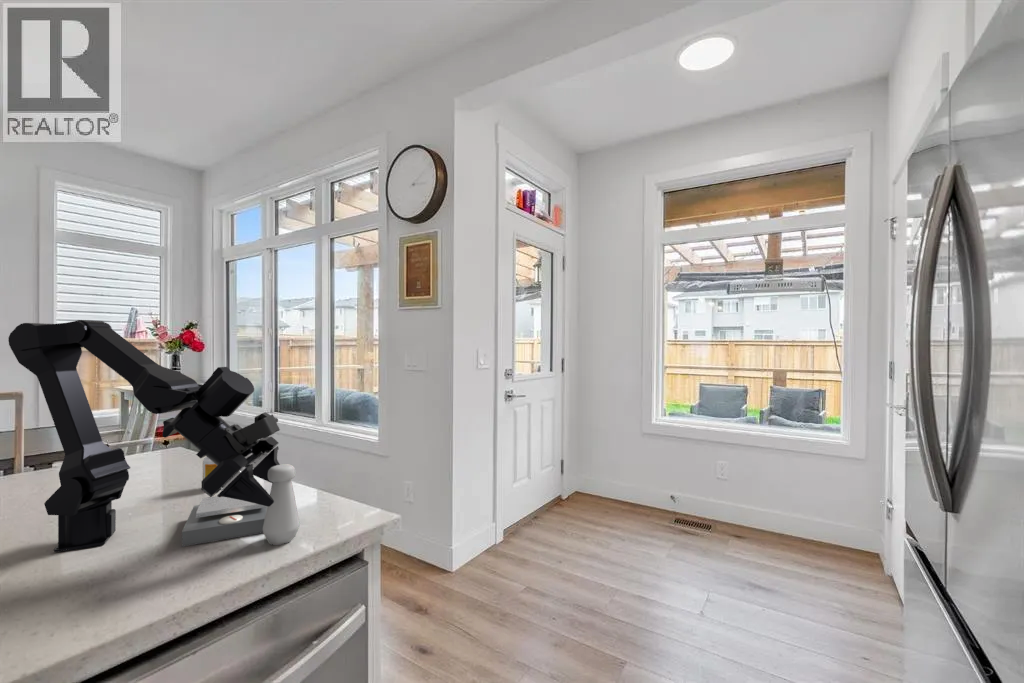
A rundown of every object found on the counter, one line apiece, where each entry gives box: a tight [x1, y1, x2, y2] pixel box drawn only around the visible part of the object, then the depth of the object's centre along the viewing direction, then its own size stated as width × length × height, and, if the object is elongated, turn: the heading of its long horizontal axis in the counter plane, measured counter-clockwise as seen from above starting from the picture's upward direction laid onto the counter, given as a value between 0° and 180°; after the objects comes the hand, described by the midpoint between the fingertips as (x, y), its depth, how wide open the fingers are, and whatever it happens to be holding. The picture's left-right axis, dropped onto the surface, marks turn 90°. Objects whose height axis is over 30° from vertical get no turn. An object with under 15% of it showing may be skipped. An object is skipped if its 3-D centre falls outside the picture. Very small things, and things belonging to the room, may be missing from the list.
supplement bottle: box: [202, 456, 223, 491], centre depth 108 cm, size 5×5×10 cm
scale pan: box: [196, 495, 266, 518], centre depth 88 cm, size 11×9×1 cm
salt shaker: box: [262, 463, 301, 546], centre depth 80 cm, size 6×6×13 cm
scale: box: [181, 504, 267, 547], centre depth 87 cm, size 14×14×3 cm
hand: (281, 495), depth 80 cm, fingers open, 9 cm apart
